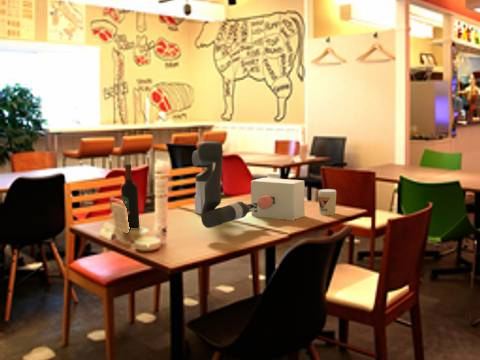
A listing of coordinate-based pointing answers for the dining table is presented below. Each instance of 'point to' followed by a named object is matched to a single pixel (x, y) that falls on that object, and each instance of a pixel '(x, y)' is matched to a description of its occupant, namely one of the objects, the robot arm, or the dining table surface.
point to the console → (279, 198)
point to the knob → (265, 202)
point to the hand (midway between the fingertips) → (255, 204)
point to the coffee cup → (327, 201)
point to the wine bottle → (130, 198)
